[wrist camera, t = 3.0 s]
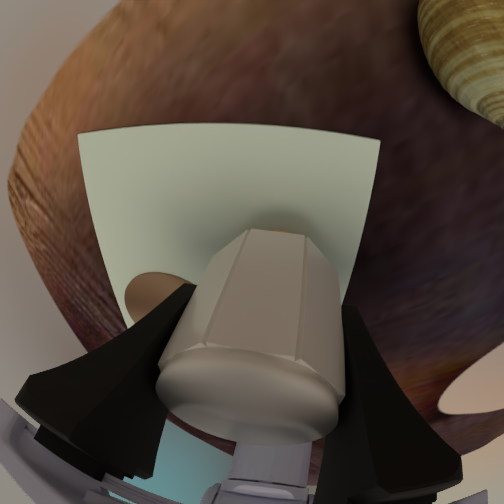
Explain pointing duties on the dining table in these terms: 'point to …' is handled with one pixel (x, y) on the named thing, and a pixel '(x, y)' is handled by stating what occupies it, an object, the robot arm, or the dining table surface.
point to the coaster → (149, 292)
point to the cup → (259, 344)
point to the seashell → (467, 51)
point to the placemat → (221, 193)
